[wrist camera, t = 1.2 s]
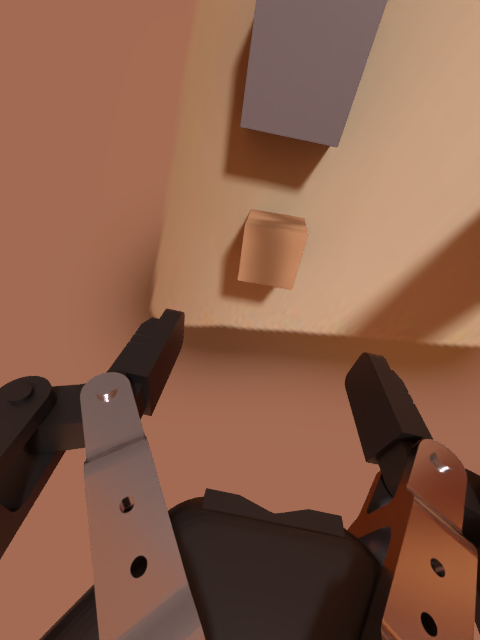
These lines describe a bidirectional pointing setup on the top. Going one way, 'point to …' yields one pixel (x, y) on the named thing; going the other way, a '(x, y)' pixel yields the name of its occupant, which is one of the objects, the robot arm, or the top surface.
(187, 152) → the top surface
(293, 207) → the top surface
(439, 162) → the top surface
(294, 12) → the charcoal block
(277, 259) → the oak block
